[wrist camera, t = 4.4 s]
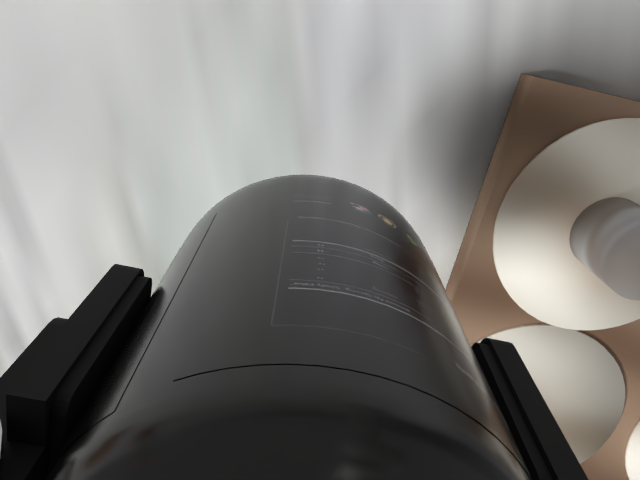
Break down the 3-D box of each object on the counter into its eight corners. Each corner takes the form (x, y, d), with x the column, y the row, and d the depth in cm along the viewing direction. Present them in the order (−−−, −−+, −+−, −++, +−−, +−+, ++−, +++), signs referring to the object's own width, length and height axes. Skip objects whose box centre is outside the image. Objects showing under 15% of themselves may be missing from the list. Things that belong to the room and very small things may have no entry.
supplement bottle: (344, 422, 16) (382, 1322, 5) (140, 321, 15) (-426, 1266, 4) (487, 251, 14) (1154, 1260, 3) (258, 110, 12) (-353, 1018, 1)
